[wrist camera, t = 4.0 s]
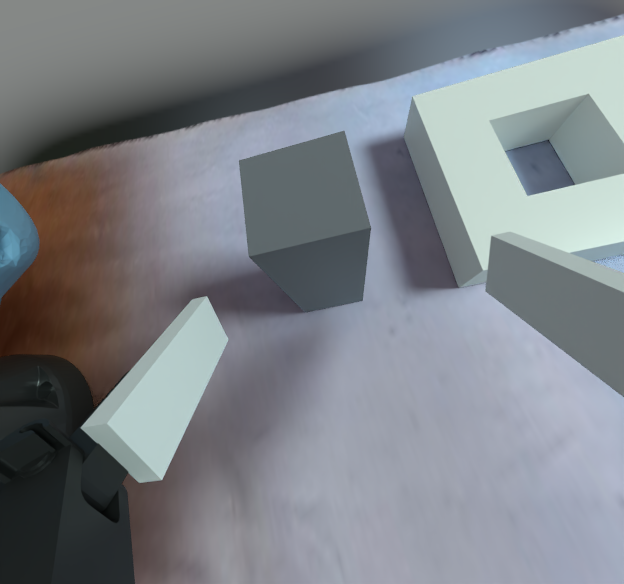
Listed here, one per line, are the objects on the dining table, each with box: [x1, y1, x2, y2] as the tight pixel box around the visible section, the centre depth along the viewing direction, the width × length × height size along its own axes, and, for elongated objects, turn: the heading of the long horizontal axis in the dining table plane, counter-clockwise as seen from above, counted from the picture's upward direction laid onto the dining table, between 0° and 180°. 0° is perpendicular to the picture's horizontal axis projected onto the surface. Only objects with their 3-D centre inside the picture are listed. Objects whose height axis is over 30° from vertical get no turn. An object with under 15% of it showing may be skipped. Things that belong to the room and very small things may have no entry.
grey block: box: [239, 131, 371, 312], centre depth 16 cm, size 5×5×12 cm
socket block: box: [404, 35, 624, 288], centre depth 20 cm, size 16×16×4 cm
